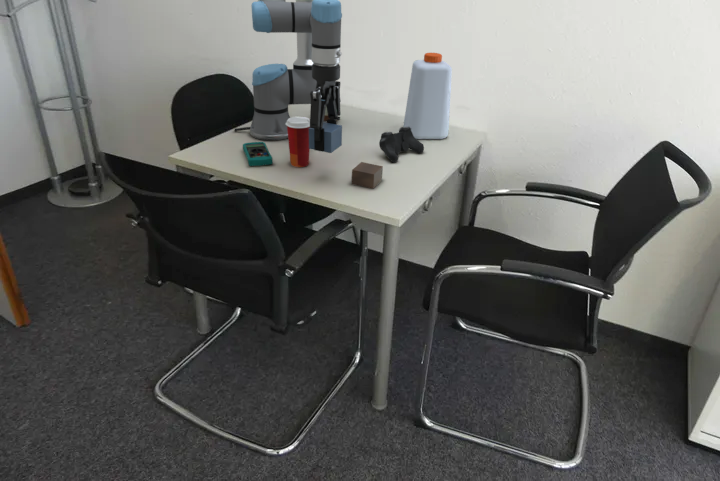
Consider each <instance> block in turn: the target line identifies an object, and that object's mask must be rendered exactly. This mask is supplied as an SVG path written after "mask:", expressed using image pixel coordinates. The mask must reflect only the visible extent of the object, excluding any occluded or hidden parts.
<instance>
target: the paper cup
mask: <svg viewBox="0 0 720 481" xmlns="http://www.w3.org/2000/svg"><path fill="white" fill-rule="evenodd" d="M286 125H287V130H288V138H287V141H288V150H289V151H288V152H289V162H290V165H291V166H292V167H295V168H305V167H307V166H309V162H310V150H311V149H309V128H310V117H306V116H292V117H291V116H290V118H289V119H288V120H287V122H286Z"/></svg>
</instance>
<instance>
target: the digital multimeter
mask: <svg viewBox="0 0 720 481" xmlns="http://www.w3.org/2000/svg"><path fill="white" fill-rule="evenodd" d="M242 150H243V152H244V155H245V157H246V159H247V163H248V166H250V167H261V166H271V165H272V164H274V159H273V156H272V155H271V153H270V151H269V149H268V147H267V144H266V142H265V141H252V142H244V143H243V144H242Z"/></svg>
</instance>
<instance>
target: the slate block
mask: <svg viewBox="0 0 720 481" xmlns="http://www.w3.org/2000/svg"><path fill="white" fill-rule="evenodd" d="M323 128H324V152H323V153H327V154H332V153H334V152H335V151H336V150H338V149H339V148H340V147H342V145H343V125H342V124H338V123H336V124H332V123H327V122H325V121H324V122H323ZM309 149H310V150H314V128H309ZM314 151H315V150H314Z"/></svg>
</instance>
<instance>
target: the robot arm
mask: <svg viewBox="0 0 720 481" xmlns="http://www.w3.org/2000/svg"><path fill="white" fill-rule="evenodd" d="M342 18H343V13H342V3H341V1H340V0H295V1H286V0H257V1H253V2H252V3H251V21H252V29H253V31H255V32H257V33H266V34H270V33H275V34H276V33H277V34H278V33H279V34H280V33H295V34H296V50H297V51H296V53H297V54H296V55H297V56H296V59H295V60H294V62H292V68H288V66H287V64H285V63H268V64H264V65H261V66H258V67H256V68H254V70H253V71H252V76H251V77H252V82H251V85H252V93H253V94H252V95H253V110H254V112H253V116H252V120H251V124H250V126H244V127H236V128H234V129H233V130H234V132H241V131H250V132H249V133H250V136H251V137H252V138H255V139H257V140H262V141H281V140H282V141H283V140H286V139H287V140H288V130H287V125H286V122H287V120H288V119H289V118H291V116H290V113H289V105H310V110H309V111H310V112H309V113H310V114H309V119H310V128H314V151H317V152H321V153H325V152H324V128H323V122H325V121H324V116H325V110H326V107H327V112H328V118H329V119H327V122H326V123H332V124H337V122H336V120H337V121H340V120H341V102H340V100H341V81H339V80H340V79H341V65H340V63H341V56H342V55H343V53H342V52H341V44H342V42H341V41H342V40H341V39H342Z"/></svg>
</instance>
